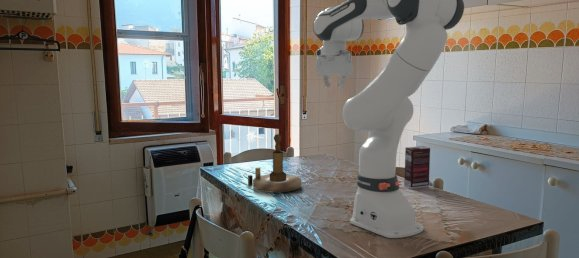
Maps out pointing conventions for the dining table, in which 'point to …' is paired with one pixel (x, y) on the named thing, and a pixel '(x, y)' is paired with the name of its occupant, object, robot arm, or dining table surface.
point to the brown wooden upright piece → (277, 162)
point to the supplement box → (417, 167)
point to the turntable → (275, 183)
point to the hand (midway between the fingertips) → (333, 87)
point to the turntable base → (250, 180)
